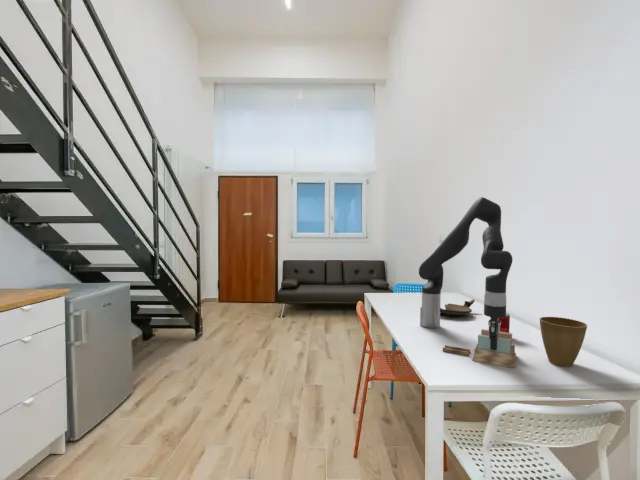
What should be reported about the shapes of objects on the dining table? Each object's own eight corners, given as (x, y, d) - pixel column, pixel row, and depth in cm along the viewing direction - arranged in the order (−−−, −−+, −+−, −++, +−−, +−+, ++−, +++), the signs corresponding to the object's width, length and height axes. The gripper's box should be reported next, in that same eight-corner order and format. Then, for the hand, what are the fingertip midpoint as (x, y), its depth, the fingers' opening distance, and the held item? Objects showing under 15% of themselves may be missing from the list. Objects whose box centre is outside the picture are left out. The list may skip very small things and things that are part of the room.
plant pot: (568, 373, 126) (570, 328, 126) (529, 359, 140) (530, 318, 139) (594, 367, 132) (596, 324, 132) (554, 354, 146) (555, 314, 145)
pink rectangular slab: (480, 349, 147) (481, 330, 147) (481, 348, 148) (481, 329, 148) (511, 354, 141) (511, 334, 141) (511, 353, 143) (512, 333, 142)
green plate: (477, 356, 139) (478, 335, 138) (478, 354, 140) (478, 334, 140) (509, 361, 133) (510, 340, 133) (510, 360, 135) (510, 339, 134)
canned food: (511, 339, 165) (512, 315, 165) (492, 338, 167) (493, 314, 166) (506, 334, 172) (506, 311, 172) (488, 333, 174) (488, 310, 174)
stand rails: (442, 351, 148) (442, 347, 148) (444, 348, 152) (445, 345, 151) (468, 356, 143) (468, 352, 143) (470, 352, 146) (470, 349, 146)
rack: (472, 360, 138) (472, 349, 138) (478, 349, 151) (478, 338, 151) (513, 368, 131) (514, 356, 131) (516, 355, 144) (516, 344, 143)
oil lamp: (423, 310, 221) (423, 298, 221) (470, 310, 224) (470, 297, 223) (438, 319, 199) (438, 306, 199) (490, 319, 201) (490, 305, 201)
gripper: (486, 299, 144) (485, 342, 144) (481, 305, 132) (480, 352, 133) (507, 301, 140) (506, 345, 140) (504, 308, 128) (503, 356, 129)
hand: (493, 348), depth 137 cm, fingers closed on green plate, 1 cm apart
